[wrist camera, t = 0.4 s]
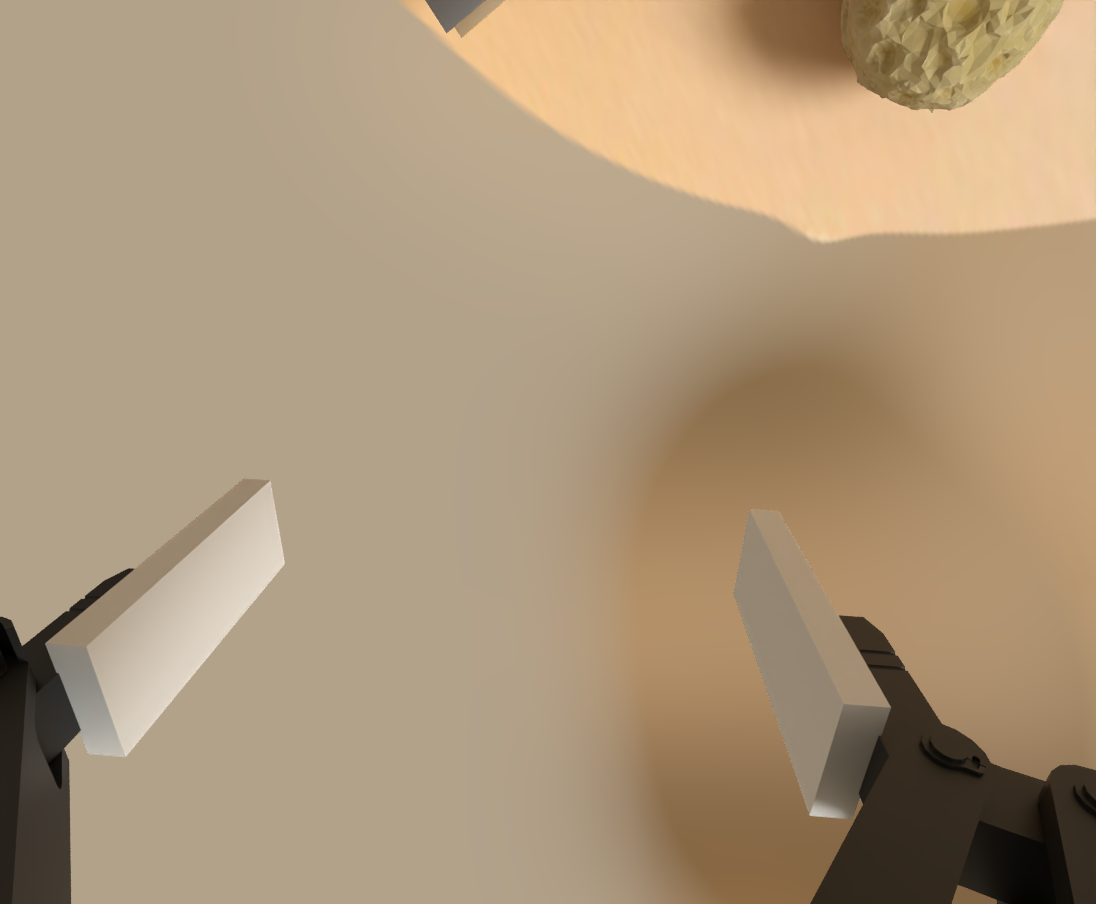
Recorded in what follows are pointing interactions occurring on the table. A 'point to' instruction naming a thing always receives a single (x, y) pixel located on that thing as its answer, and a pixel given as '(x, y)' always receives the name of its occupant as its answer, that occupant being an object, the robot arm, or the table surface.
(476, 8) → the lever
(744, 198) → the table surface
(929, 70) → the decorative item
